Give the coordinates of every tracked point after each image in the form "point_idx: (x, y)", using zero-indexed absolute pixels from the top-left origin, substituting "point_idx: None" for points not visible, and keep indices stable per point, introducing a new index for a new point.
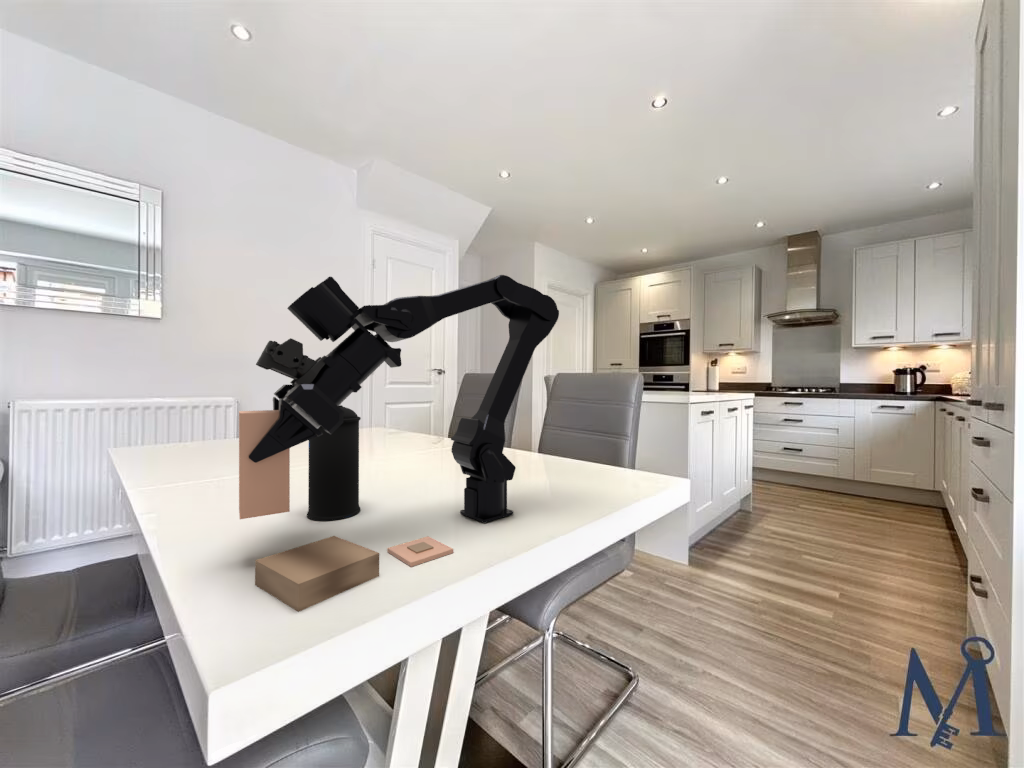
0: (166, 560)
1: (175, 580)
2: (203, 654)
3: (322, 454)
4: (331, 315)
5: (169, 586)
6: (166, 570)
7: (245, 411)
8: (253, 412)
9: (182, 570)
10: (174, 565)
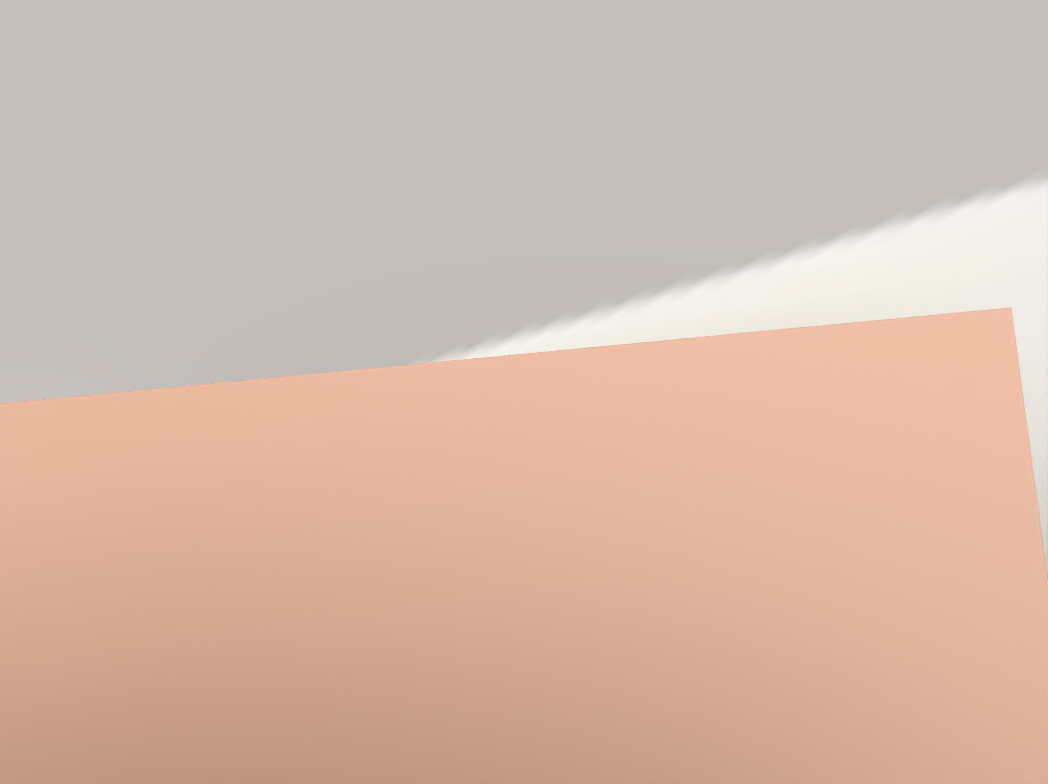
0: (1034, 214)
1: (697, 315)
2: None
3: None
4: None
5: (638, 306)
6: (861, 250)
7: (676, 522)
8: (1, 725)
9: (818, 320)
10: (921, 270)
